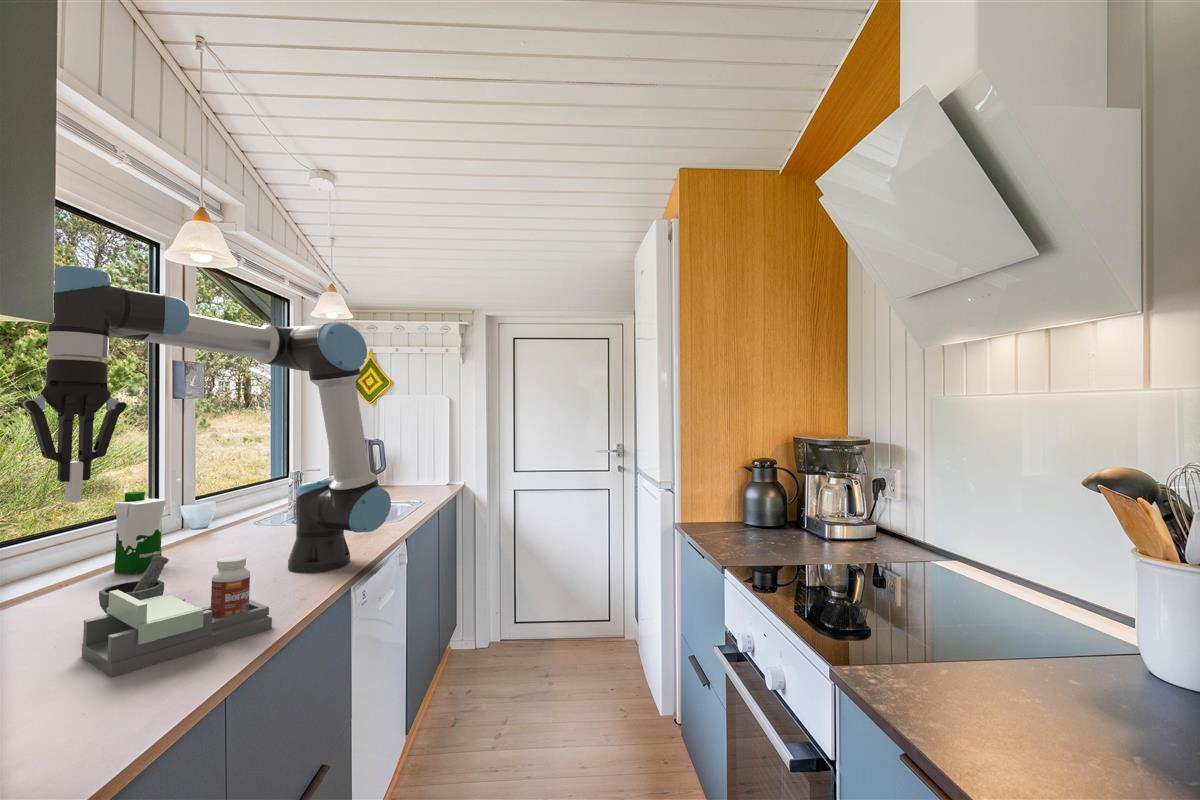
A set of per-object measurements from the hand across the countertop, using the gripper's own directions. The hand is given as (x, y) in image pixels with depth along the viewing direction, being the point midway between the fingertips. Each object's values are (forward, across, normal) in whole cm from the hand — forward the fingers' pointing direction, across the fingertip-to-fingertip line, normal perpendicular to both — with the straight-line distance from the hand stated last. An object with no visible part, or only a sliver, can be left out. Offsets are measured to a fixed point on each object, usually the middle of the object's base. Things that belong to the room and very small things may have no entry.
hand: (73, 500), depth 92 cm
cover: (+22, -10, +6) cm, 25 cm away
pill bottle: (+25, -22, +6) cm, 33 cm away
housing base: (+26, -14, +6) cm, 30 cm away
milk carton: (+27, -27, -56) cm, 68 cm away
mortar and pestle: (+27, -13, -13) cm, 32 cm away
